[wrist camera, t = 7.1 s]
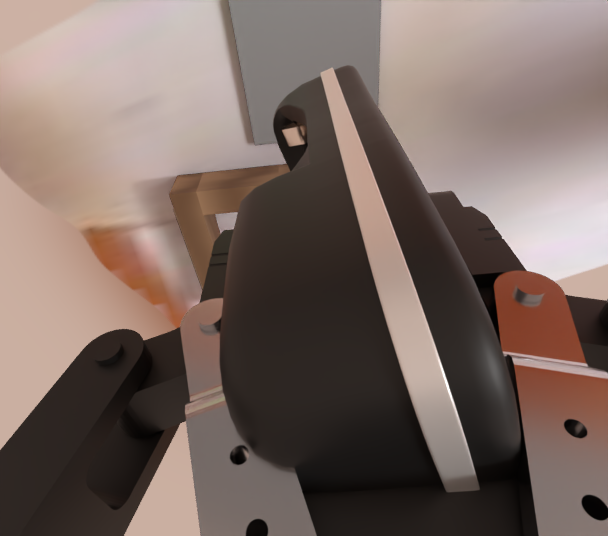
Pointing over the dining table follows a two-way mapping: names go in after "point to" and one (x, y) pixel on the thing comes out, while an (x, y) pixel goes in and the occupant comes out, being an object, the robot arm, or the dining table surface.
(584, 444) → the robot arm
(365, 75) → the mat
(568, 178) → the dining table surface
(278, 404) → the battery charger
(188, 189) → the frame
